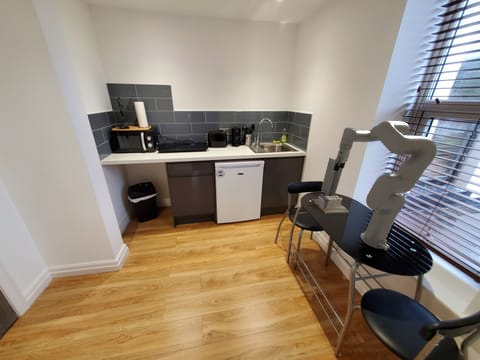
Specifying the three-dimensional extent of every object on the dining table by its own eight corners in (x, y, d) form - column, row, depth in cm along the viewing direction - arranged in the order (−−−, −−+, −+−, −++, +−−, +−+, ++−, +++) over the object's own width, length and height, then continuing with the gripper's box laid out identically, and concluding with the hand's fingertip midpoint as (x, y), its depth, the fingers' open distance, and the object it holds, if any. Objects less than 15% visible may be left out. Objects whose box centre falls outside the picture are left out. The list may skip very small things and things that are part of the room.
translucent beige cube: (339, 206, 140) (342, 199, 137) (332, 206, 139) (334, 199, 136) (334, 202, 145) (337, 195, 142) (327, 202, 144) (329, 195, 142)
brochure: (334, 197, 155) (344, 163, 143) (327, 197, 155) (337, 163, 143) (327, 190, 168) (336, 158, 156) (321, 189, 168) (329, 157, 156)
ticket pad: (333, 208, 137) (336, 199, 134) (322, 208, 135) (324, 200, 133) (326, 201, 146) (328, 193, 143) (315, 201, 144) (317, 193, 141)
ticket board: (349, 212, 135) (349, 211, 134) (325, 213, 132) (325, 212, 131) (333, 199, 152) (333, 198, 151) (311, 200, 149) (311, 198, 148)
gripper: (346, 149, 121) (338, 173, 128) (355, 146, 132) (348, 168, 139) (334, 146, 126) (328, 170, 133) (344, 143, 137) (338, 165, 144)
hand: (338, 169), depth 136 cm, fingers open, 9 cm apart
